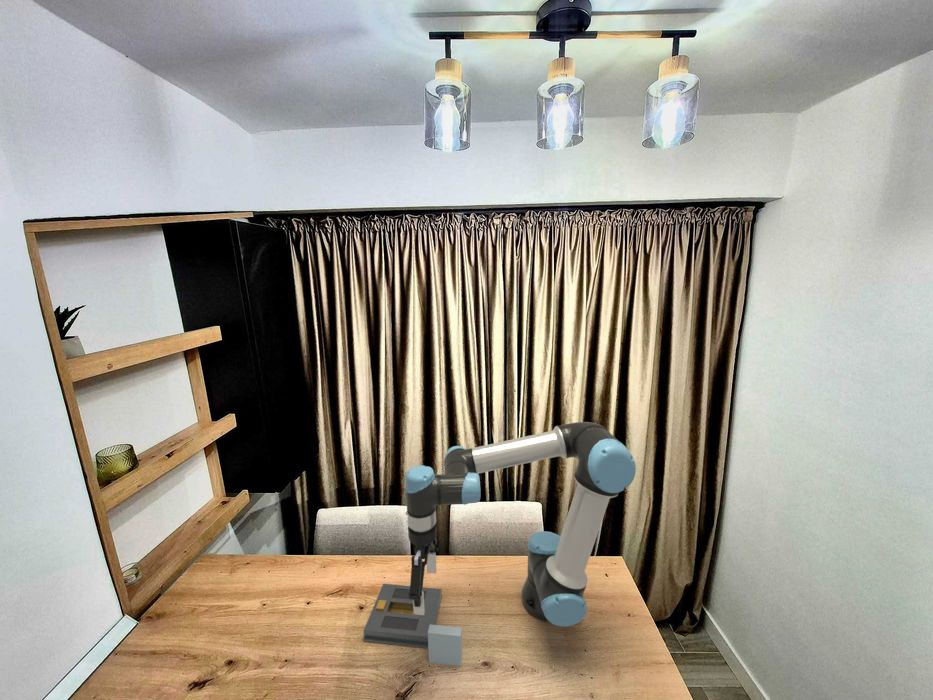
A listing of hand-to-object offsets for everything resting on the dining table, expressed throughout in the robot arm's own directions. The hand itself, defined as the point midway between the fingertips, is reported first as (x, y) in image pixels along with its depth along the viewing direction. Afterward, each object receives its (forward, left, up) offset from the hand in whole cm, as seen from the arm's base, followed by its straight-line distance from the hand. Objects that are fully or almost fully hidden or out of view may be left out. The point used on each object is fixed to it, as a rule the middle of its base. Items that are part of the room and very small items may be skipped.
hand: (425, 591), depth 102 cm
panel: (-6, +3, -19) cm, 20 cm away
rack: (+9, -9, -19) cm, 23 cm away
